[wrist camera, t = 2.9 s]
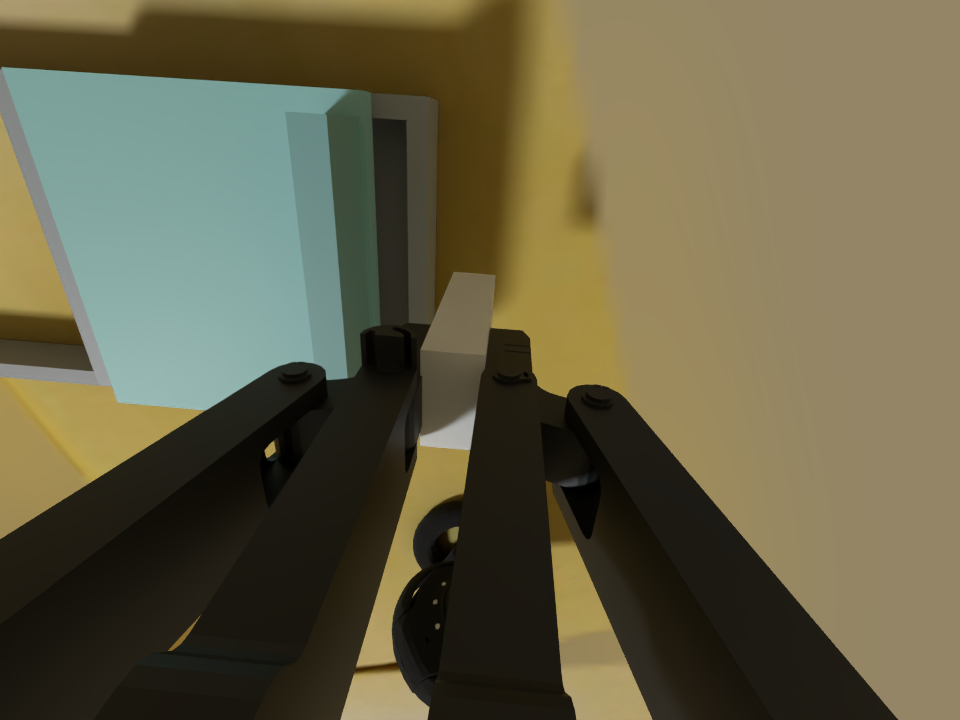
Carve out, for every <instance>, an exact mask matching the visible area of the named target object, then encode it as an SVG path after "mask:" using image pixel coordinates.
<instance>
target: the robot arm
mask: <svg viewBox="0 0 960 720" xmlns="http://www.w3.org/2000/svg"><path fill="white" fill-rule="evenodd" d="M495 277H496V275H490V274H477V273H464V272H454V273H453V275H452V277H451V280H450V282H449V284H448V287H447V289H446V291H445V294H444V296H443V298H442V301H441V303H440V305H439V308H438V310H437V312H436V315H435V317H434V319H433V322H432V324H431V325H430V324H418V323H406V324H404V325H402V326H398V325H380V326H373V327H371V328H368V329H365V330H364V331H362V332H361V333H360V344H361V359H362V366H361V367H360V369H359V370H358V372H357V374H356V375H355V377H352V378H345V379H334V380H326V371H325V369H324V368H323V367H322V366H320V365H317V364H314V363H307V362H290V363H288V364H285V365H280V366H278V367H276V368H274V369H272V370H270V371H268V372H267V373H265V374H263V375H262V376H260V377H259V378H257V379H255V380H254V381H252V382H251V383H249V384H247V385H246V386H244V387H243V388H241V389H239V390H238V391H236V392H235V393H233V394H231V395H230V396H228V397H227V398H225V399H223V400H222V401H220V402H219V403H217V404H215V405H214V406H212V407H211V408H209V409H207V410H206V411H204V412H203V413H201V414H199V415H198V416H196V417H195V418H193V419H191V420H190V421H188V422H187V423H185V424H183V425H182V426H180V427H179V428H177V429H176V430H174V431H172V432H171V433H169V434H168V435H166V436H164V437H163V438H161V439H160V440H158V441H156V442H155V443H153V444H152V445H150V446H148V447H147V448H145V449H144V450H142V451H140V452H139V453H137V454H136V455H134V456H132V457H131V458H129V459H128V460H126V461H124V462H123V463H121V464H120V465H118V466H116V467H115V468H113V469H112V470H110V471H108V472H107V473H105V474H104V475H102V476H100V477H99V478H97V479H96V480H94V481H92V482H91V483H89V484H88V485H86V486H84V487H83V488H81V489H80V490H78V491H76V492H75V493H74V494H72V495H70V496H69V497H67V498H65V499H64V500H62V501H61V502H59V503H57V504H56V505H54V506H53V507H51V508H49V509H48V510H46V511H45V512H43V513H41V514H40V515H38V516H37V517H35V518H34V519H32V520H30V521H29V522H27V523H25V524H24V525H23V526H21V527H19V528H18V529H16V530H14V531H13V532H11V533H10V534H8V535H6V536H5V537H3V538H2V539H0V720H340V719H341V716H342V712H343V709H344V705H345V702H346V699H347V695H348V692H349V688H350V685H351V681H352V678H353V675H354V671H355V668H356V664H357V661H358V658H359V654H360V651H361V647H362V644H363V641H364V637H365V634H366V630H367V627H368V623H369V620H370V617H371V613H372V610H373V606H374V603H375V600H376V596H377V593H378V589H379V586H380V582H381V579H382V576H383V572H384V569H385V565H386V562H387V559H388V555H389V552H390V548H391V545H392V542H393V538H394V535H395V531H396V528H397V524H398V521H399V518H400V514H401V511H402V507H403V504H404V501H405V497H406V494H407V490H408V487H409V483H410V480H411V477H412V473H413V470H414V466H415V463H416V460H417V440H418V437H419V433H420V446H430V447H441V448H452V449H463V450H470V455H469V462H468V469H467V476H466V483H465V490H464V497H463V504H462V511H461V518H460V525H459V532H458V539H457V546H456V553H455V560H454V567H453V574H452V581H451V588H450V595H449V602H448V609H447V616H446V623H445V630H444V637H443V644H442V651H441V658H440V665H439V671H438V676H437V679H436V680H435V682H434V687H433V691H432V696H431V702H430V708H429V715H428V720H576V715H575V709H574V706H573V702H572V699H571V697H570V696H569V695H568V694H567V693H565V691H564V687H563V682H562V674H561V663H560V652H559V639H558V627H557V615H556V603H555V591H554V579H553V567H552V555H551V543H550V531H549V519H548V507H547V495H546V483H545V480H546V481H549V482H552V483H553V484H552V487H553V493H554V495H555V498H556V500H557V502H558V504H559V507H560V509H561V511H562V514H563V516H564V518H565V520H566V523H567V525H568V527H569V530H570V532H571V534H572V536H573V539H574V541H575V543H576V546H577V548H578V550H579V552H580V555H581V557H582V559H583V562H584V564H585V566H586V568H587V571H588V573H589V575H590V578H591V580H592V582H593V584H594V587H595V589H596V591H597V594H598V596H599V598H600V600H601V603H602V605H603V607H604V610H605V612H606V614H607V616H608V619H609V621H610V623H611V625H612V628H613V630H614V632H615V635H616V637H617V639H618V641H619V644H620V646H621V648H622V651H623V653H624V655H625V657H626V660H627V662H628V664H629V667H630V669H631V671H632V673H633V676H634V678H635V680H636V683H637V685H638V687H639V689H640V692H641V694H642V696H643V699H644V701H645V703H646V705H647V708H648V710H649V712H650V715H651V717H652V719H653V720H898V719H897V718H896V717H895V716H894V714H893V713H892V712H891V711H890V710H889V709H888V707H887V706H886V705H885V704H884V703H883V701H882V700H881V699H880V698H879V697H878V696H877V694H876V693H875V692H874V691H873V690H872V688H871V687H870V686H869V685H868V684H867V683H866V682H865V680H864V679H863V678H862V677H861V676H860V674H859V673H858V672H857V671H856V670H855V668H854V667H853V666H852V665H851V664H850V663H849V661H848V660H847V659H846V658H845V657H844V656H843V654H842V653H841V652H840V651H839V650H838V648H837V647H836V646H835V645H834V644H833V643H832V641H831V640H830V639H829V638H828V637H827V635H826V634H825V633H824V632H823V631H822V630H821V628H820V627H819V626H818V625H817V624H816V623H815V621H814V620H813V619H812V618H811V617H810V615H809V614H808V613H807V612H806V611H805V609H804V608H803V607H802V606H801V605H800V604H799V602H798V601H797V600H796V599H795V598H794V597H793V595H792V594H791V593H790V592H789V591H788V589H787V588H786V587H785V586H784V585H783V584H782V582H781V581H780V580H779V579H778V578H777V577H776V575H775V574H774V573H773V572H772V571H771V570H770V568H769V567H768V566H767V565H766V564H765V562H764V561H763V560H762V559H761V558H760V557H759V555H758V554H757V553H756V552H755V551H754V550H753V548H752V547H751V546H750V545H749V543H748V542H747V541H746V540H745V539H744V538H743V536H742V535H741V534H740V533H739V532H738V531H737V529H736V528H735V527H734V526H733V525H732V523H731V522H730V521H729V520H728V519H727V518H726V517H725V515H724V514H723V513H722V512H721V511H720V509H719V508H718V507H717V506H716V505H715V504H714V502H713V501H712V500H711V499H710V498H709V496H708V495H707V494H706V493H705V492H704V490H703V489H702V488H701V487H700V486H699V485H698V483H697V482H696V481H695V480H694V479H693V477H692V476H691V475H690V474H689V473H688V472H687V470H686V469H685V468H684V467H683V466H682V465H681V463H680V462H679V461H678V460H677V459H676V458H675V456H674V455H673V454H672V453H671V452H670V450H669V449H668V448H667V447H666V446H665V444H664V443H663V442H662V441H661V440H660V439H659V437H658V436H657V435H656V434H655V433H654V431H653V430H652V429H651V428H650V427H649V426H648V424H647V423H646V422H645V421H644V420H643V419H642V417H641V416H640V415H639V414H638V413H637V411H636V410H635V409H634V408H633V407H632V406H631V404H630V403H629V402H628V401H627V400H626V398H624V397H623V396H622V395H621V394H620V393H618V392H616V391H614V390H612V389H610V388H608V387H605V386H601V385H580V386H576V387H574V388H572V389H570V391H569V393H568V395H567V398H565V397H561V396H558V395H555V394H552V393H549V392H547V391H545V390H543V389H541V388H540V387H539V386H537V379H536V377H535V375H534V374H533V373H532V361H531V348H530V338H529V337H528V336H527V335H526V334H525V333H524V332H523V331H520V330H508V329H496V328H492V316H493V303H494V290H495ZM273 441H274V443H275V449H276V452H275V453H274V454H273V455H271V456H270V457H268V458H266V456H265V451H264V450H265V449H266V448H267V447H268V445H269V444H270V443H271V442H273ZM201 614H202V615H201ZM200 615H201V616H200ZM199 616H200V618H199V619H198V621H197V622H196V624H195V625H194V627H193V629H192V630H191V632H190V633H189V635H188V636H187V637H186V639H185V640H184V641H183V642H182V644H181V645H179V646H178V647H177V648H175V649H174V650H173V651H168V650H169V649H170V648H171V646H172V645H173V644H174V643H175V642H176V641H177V640H178V639H179V638H180V637H181V636H182V635H183V633H184V632H185V631H186V630H187V629H188V628H189V627H190V626H191V625H192V624H193V623H194V622H195V621H196V619H197V618H198V617H199Z"/></svg>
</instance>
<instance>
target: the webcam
mask: <svg viewBox="0 0 960 720" xmlns="http://www.w3.org/2000/svg"><path fill="white" fill-rule="evenodd" d="M462 504H463V502H453V503H448V504H445V505H442V506H440V507H438V508H436V509H434V510H432V511H431V512H430V513H429V514H427V515H426V516H425V517H424V518H423V519H422V521H421V522H420V523H419V525H418V527H417V529H416V531H415V535H414V539H413V551H414V555H415V558H416V560H417V563H418V564H419V566H420V567H421V569H422V570H421V571H420V572H419V573H417V574H416V575H415V576H414V577H413V578H412V579H411V580H410V581H409V583H408V584H407V585H406V587H405V588H404V590H403V592H402V594H401V596H400V598H399V600H398V602H397V605H396V607H395V611H394V615H393V623H392V639H393V650H394V655H395V658H396V661H397V663H398V666H399V668H400V671H401V673H402V675H403V678H404V680H405V681H406V683H407V685H408V686H409V688H410V690H411V691H412V693H415V694H416V695H417V697H418V698H419V699H420V700H421V701H423V702H424V703H425V704H426V705H428V706H429V707H430V702H431V696H432V691H433V687H434V682H435V680H436V679H437V676H438V671H439V665H440V658H441V651H442V644H443V637H444V630H445V623H446V616H447V609H448V602H449V595H450V588H451V581H452V574H453V567H454V560H455V553H456V546H457V544H456V545H455V546H454V548H453V549H452V551H451V552H450V553H449V554H448V556H447V557H446V558H445V559H444V558H443V557H442V556H440V554H439V553H438V551H437V549H436V543H435V542H436V539H437V538H438V536H439V535H440V534H442V533H443V532H444V531H446V530H448V529H450V528H453V527H459V525H460V518H461V511H462ZM419 587H420V588H419ZM418 588H419V589H418ZM417 589H418V591H417V592H416V594H415V595H414V596H413V594H414V592H415V591H416V590H417ZM412 596H413V598H412Z"/></svg>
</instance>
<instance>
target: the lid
mask: <svg viewBox="0 0 960 720" xmlns="http://www.w3.org/2000/svg"><path fill="white" fill-rule="evenodd" d="M1 68H2V71H3V74H4V77H5V79H6V82H7V85H8V88H9V91H10V94H11V97H12V100H13V102H14V105H15V108H16V111H17V114H18V117H19V120H20V123H21V125H22V128H23V131H24V134H25V137H26V140H27V143H28V146H29V149H30V151H31V154H32V157H33V160H34V163H35V166H36V169H37V172H38V174H39V177H40V180H41V183H42V186H43V189H44V192H45V195H46V197H47V200H48V203H49V206H50V209H51V212H52V215H53V218H54V221H55V223H56V226H57V229H58V232H59V235H60V238H61V241H62V244H63V246H64V249H65V252H66V255H67V258H68V261H69V264H70V267H71V269H72V272H73V275H74V278H75V281H76V284H77V287H78V290H79V293H80V295H81V298H82V301H83V304H84V307H85V310H86V313H87V316H88V318H89V321H90V324H91V327H92V330H93V333H94V336H95V339H96V341H97V344H98V347H99V350H100V353H101V356H102V359H103V362H104V365H105V367H106V370H107V373H108V376H109V379H110V382H111V385H112V388H113V390H114V393H115V396H116V399H117V402H118V403H129V404H140V405H152V406H163V407H174V408H186V409H197V410H207V409H209V408H211V407H212V406H214V405H215V404H217V403H219V402H220V401H222V400H223V399H225V398H227V397H228V396H230V395H231V394H233V393H235V392H236V391H238V390H239V389H241V388H243V387H244V386H246V385H247V384H249V383H251V382H252V381H254V380H255V379H257V378H259V377H260V376H262V375H263V374H265V373H267V372H268V371H270V370H272V369H274V368H276V367H278V366H280V365H285V364H288V363H290V362H307V363H314V364H317V365H320V366H322V367H323V368H324V369H325V371H326V380H334V379H345V378H352V377H355V375H356V374H357V372H358V370H359V369H360V367H361V366H362V359H361V344H360V333H361V332H362V331H364V330H365V329H368V328H371V327H373V326H380V301H379V277H378V252H377V228H376V204H375V180H374V156H373V131H372V107H371V92H367V91H364V90H351V89H335V88H320V87H304V86H288V85H273V84H257V83H242V82H226V81H211V80H195V79H179V78H164V77H148V76H133V75H117V74H101V73H86V72H70V71H55V70H39V69H23V68H8V67H1Z"/></svg>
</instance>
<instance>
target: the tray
mask: <svg viewBox="0 0 960 720" xmlns="http://www.w3.org/2000/svg"><path fill="white" fill-rule="evenodd" d="M371 107H372V131H373V156H374V180H375V204H376V228H377V252H378V277H379V301H380V325H398V326H402V325H404V324H406V323H418V324H430V325H431V324H432V322H433V319H434V317H435V284H436V222H437V160H438V100H436V99H434V98H431V97H428V96H413V95H397V94H382V93H371ZM0 113H1V116H2V119H3V121H4V124H5V127H6V130H7V133H8V135H9V138H10V141H11V144H12V146H13V149H14V152H15V155H16V157H17V160H18V163H19V166H20V168H21V171H22V174H23V177H24V180H25V182H26V185H27V188H28V191H29V193H30V196H31V199H32V202H33V204H34V207H35V210H36V213H37V215H38V218H39V221H40V224H41V227H42V229H43V232H44V235H45V238H46V240H47V243H48V246H49V249H50V251H51V254H52V257H53V260H54V262H55V265H56V268H57V271H58V274H59V276H60V279H61V282H62V285H63V287H64V290H65V293H66V296H67V298H68V301H69V304H70V307H71V310H72V312H73V315H74V318H75V321H76V323H77V326H78V329H79V332H80V334H81V337H82V340H83V343H84V345H85V346H78V345H67V344H55V343H43V342H31V341H19V340H7V339H0V377H8V378H19V379H31V380H42V381H54V382H65V383H76V384H88V385H99V386H111V387H112V385H111V382H110V379H109V376H108V373H107V370H106V367H105V365H104V362H103V359H102V356H101V353H100V350H99V347H98V344H97V341H96V339H95V336H94V333H93V330H92V327H91V324H90V321H89V318H88V316H87V313H86V310H85V307H84V304H83V301H82V298H81V295H80V293H79V290H78V287H77V284H76V281H75V278H74V275H73V272H72V269H71V267H70V264H69V261H68V258H67V255H66V252H65V249H64V246H63V244H62V241H61V238H60V235H59V232H58V229H57V226H56V223H55V221H54V218H53V215H52V212H51V209H50V206H49V203H48V200H47V197H46V195H45V192H44V189H43V186H42V183H41V180H40V177H39V174H38V172H37V169H36V166H35V163H34V160H33V157H32V154H31V151H30V149H29V146H28V143H27V140H26V137H25V134H24V131H23V128H22V125H21V123H20V120H19V117H18V114H17V111H16V108H15V105H14V102H13V100H12V97H11V94H10V91H9V88H8V85H7V82H6V79H5V77H4V74H3V71H2V69H0Z"/></svg>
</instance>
